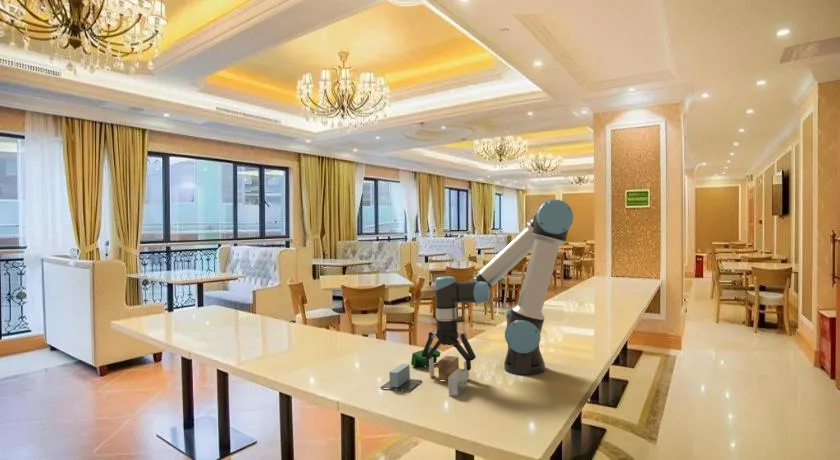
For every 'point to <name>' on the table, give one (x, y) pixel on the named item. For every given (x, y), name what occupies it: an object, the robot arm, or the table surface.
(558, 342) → the table surface
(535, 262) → the robot arm
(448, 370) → the block
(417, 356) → the clamp
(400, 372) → the blue-gray rectangular block
